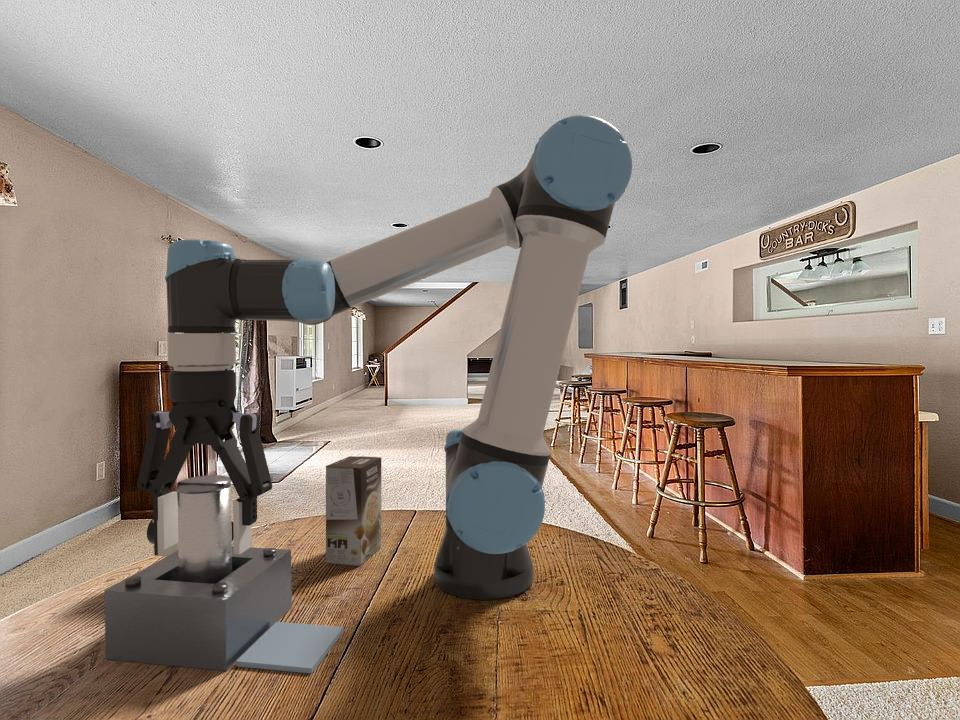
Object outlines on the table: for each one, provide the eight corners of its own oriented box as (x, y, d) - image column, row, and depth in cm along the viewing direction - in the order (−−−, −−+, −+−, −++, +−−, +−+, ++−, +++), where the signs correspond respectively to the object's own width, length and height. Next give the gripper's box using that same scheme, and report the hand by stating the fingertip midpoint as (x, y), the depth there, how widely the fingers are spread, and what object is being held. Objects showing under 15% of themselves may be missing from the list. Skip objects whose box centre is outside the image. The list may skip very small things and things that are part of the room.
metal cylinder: (242, 606, 74) (240, 476, 73) (213, 629, 68) (211, 488, 67) (200, 602, 75) (198, 474, 74) (168, 625, 69) (165, 486, 68)
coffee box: (361, 567, 91) (360, 468, 91) (324, 563, 93) (324, 466, 92) (382, 546, 100) (382, 456, 100) (348, 544, 102) (348, 454, 101)
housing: (291, 607, 77) (291, 545, 77) (226, 671, 63) (225, 594, 62) (191, 599, 80) (190, 539, 79) (105, 659, 65) (104, 585, 65)
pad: (343, 631, 71) (343, 627, 71) (311, 673, 62) (311, 668, 62) (276, 626, 72) (276, 621, 72) (235, 666, 64) (235, 661, 64)
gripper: (300, 367, 72) (302, 542, 73) (144, 366, 75) (147, 533, 76) (270, 371, 65) (272, 565, 65) (98, 369, 68) (102, 553, 69)
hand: (205, 547), depth 71 cm, fingers open, 9 cm apart
